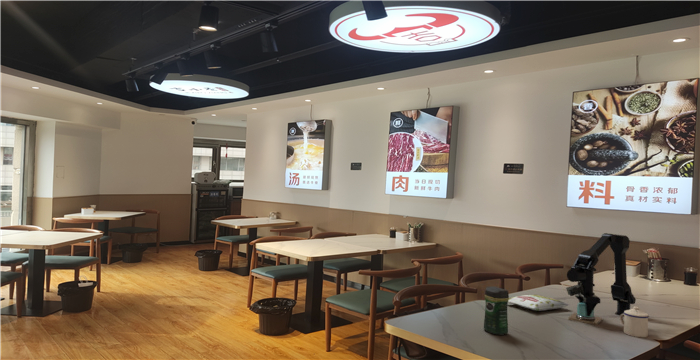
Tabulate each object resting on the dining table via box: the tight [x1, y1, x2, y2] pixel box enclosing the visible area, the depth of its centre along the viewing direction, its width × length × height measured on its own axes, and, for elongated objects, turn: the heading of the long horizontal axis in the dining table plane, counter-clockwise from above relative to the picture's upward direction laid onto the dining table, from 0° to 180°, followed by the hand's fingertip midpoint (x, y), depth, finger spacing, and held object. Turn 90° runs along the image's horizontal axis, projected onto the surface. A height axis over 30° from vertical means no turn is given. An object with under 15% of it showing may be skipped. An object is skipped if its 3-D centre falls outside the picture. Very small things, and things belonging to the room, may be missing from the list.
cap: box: [576, 302, 595, 317], centre depth 216 cm, size 6×6×5 cm
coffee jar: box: [483, 285, 510, 336], centre depth 192 cm, size 10×8×19 cm
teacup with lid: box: [619, 306, 650, 338], centre depth 198 cm, size 12×9×12 cm
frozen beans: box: [508, 294, 570, 312], centre depth 236 cm, size 21×6×25 cm
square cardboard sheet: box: [567, 312, 603, 326], centre depth 216 cm, size 12×12×5 cm
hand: (585, 313), depth 216 cm, fingers closed on cap, 6 cm apart
